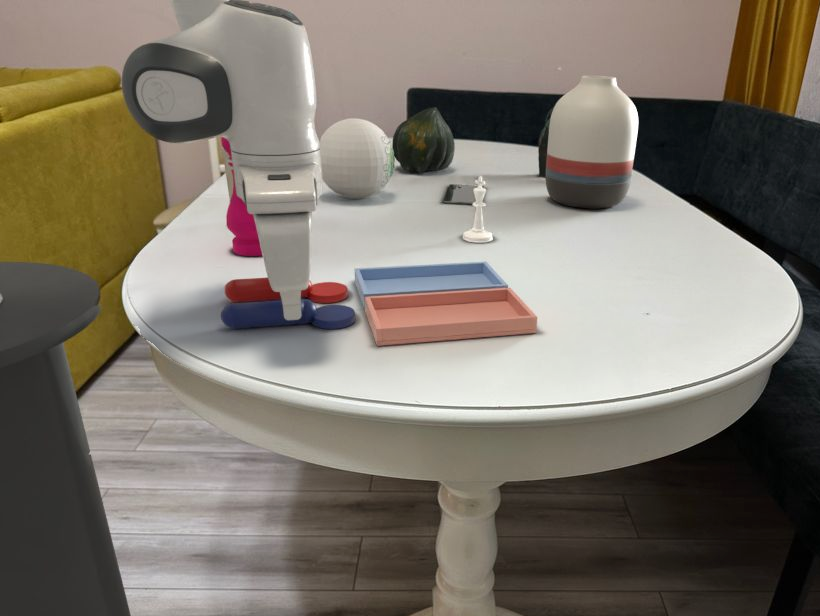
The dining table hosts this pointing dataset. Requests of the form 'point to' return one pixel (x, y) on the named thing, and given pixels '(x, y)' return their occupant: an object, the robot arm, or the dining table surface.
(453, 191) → the smartphone
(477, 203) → the chess piece
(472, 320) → the red tray
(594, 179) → the vase
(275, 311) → the blue spoon
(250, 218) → the pepper mill
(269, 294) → the red spoon
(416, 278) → the blue tray
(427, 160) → the squash
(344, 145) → the decorative object
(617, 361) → the dining table surface
